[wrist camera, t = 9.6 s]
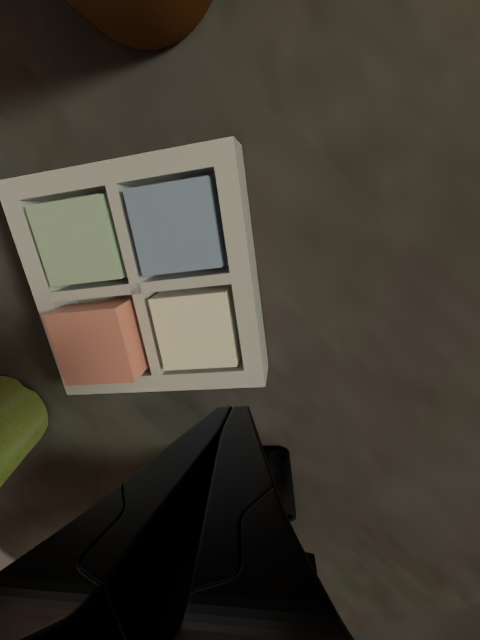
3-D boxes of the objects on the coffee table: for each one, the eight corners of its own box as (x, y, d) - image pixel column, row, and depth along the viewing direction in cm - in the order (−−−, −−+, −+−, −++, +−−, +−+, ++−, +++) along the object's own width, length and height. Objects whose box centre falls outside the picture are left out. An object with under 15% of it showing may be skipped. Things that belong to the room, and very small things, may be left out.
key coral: (149, 366, 20) (134, 382, 19) (86, 369, 21) (66, 385, 19) (132, 298, 19) (114, 308, 17) (65, 304, 20) (42, 315, 18)
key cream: (242, 352, 21) (237, 366, 19) (175, 356, 21) (164, 370, 20) (231, 283, 19) (225, 292, 17) (161, 290, 20) (147, 299, 18)
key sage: (136, 271, 20) (120, 278, 18) (72, 279, 21) (50, 286, 19) (118, 194, 18) (98, 193, 17) (50, 205, 19) (24, 206, 17)
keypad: (268, 366, 21) (265, 387, 19) (90, 375, 24) (67, 395, 21) (241, 145, 17) (233, 135, 15) (30, 184, 20) (-7, 181, 17)
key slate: (228, 261, 19) (221, 267, 17) (156, 269, 20) (142, 276, 18) (216, 178, 17) (207, 175, 16) (139, 190, 18) (122, 189, 16)
